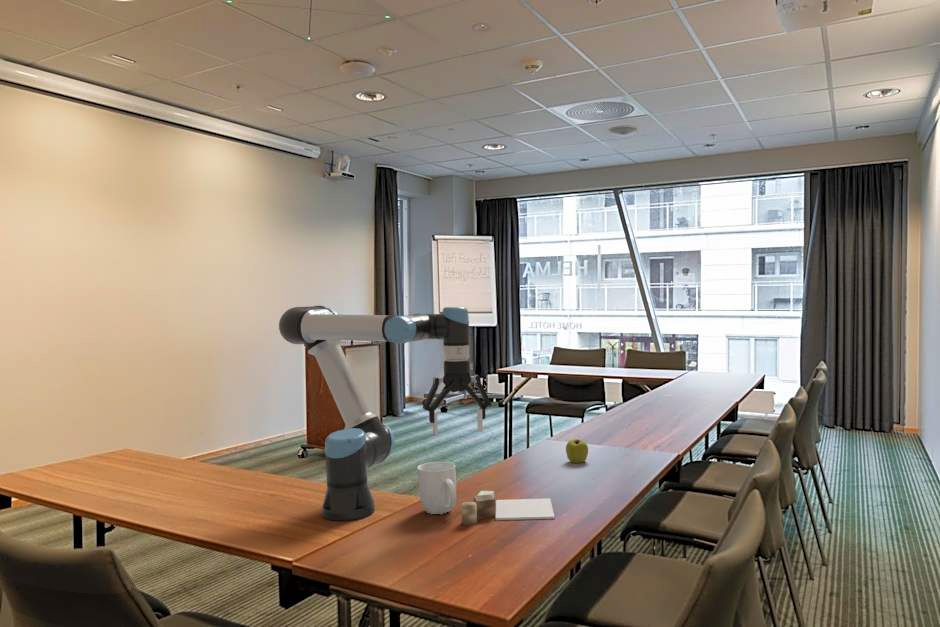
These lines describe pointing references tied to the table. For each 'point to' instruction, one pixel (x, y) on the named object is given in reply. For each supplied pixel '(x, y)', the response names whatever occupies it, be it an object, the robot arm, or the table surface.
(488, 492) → the sage block
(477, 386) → the robot arm
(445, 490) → the mug
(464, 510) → the beech cylinder
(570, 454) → the apple
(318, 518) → the table surface
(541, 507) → the pad
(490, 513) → the walnut block
